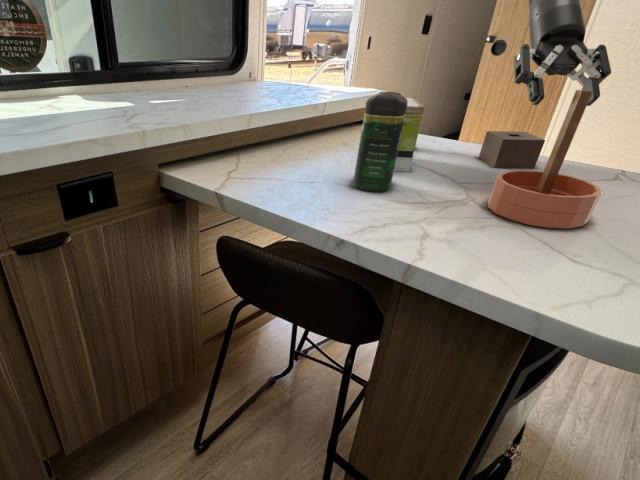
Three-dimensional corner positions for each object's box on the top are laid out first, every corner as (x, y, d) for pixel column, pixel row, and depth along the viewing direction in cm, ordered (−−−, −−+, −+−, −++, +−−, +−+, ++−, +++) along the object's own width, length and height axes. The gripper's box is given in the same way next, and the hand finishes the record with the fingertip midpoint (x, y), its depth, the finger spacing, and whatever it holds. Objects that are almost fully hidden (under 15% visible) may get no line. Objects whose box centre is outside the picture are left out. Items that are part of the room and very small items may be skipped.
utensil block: (515, 159, 109) (525, 131, 105) (533, 170, 101) (545, 140, 97) (477, 159, 109) (486, 131, 106) (493, 169, 101) (503, 139, 98)
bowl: (554, 201, 83) (567, 171, 79) (606, 233, 70) (624, 198, 66) (473, 199, 84) (483, 169, 80) (509, 230, 71) (522, 196, 67)
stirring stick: (537, 210, 77) (586, 90, 66) (541, 213, 76) (592, 91, 65) (528, 209, 77) (575, 90, 66) (532, 212, 76) (582, 91, 65)
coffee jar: (388, 196, 85) (409, 96, 75) (349, 191, 88) (364, 94, 77) (392, 182, 93) (411, 90, 82) (356, 178, 95) (370, 88, 85)
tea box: (410, 173, 98) (426, 105, 90) (367, 171, 100) (378, 104, 92) (402, 157, 111) (415, 96, 103) (364, 155, 112) (373, 95, 104)
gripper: (526, 2, 70) (535, 86, 67) (615, 2, 69) (628, 87, 66) (501, 39, 77) (508, 116, 74) (581, 39, 76) (591, 117, 73)
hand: (564, 102), depth 70 cm, fingers open, 8 cm apart
